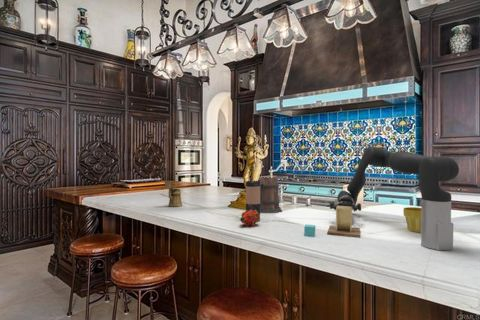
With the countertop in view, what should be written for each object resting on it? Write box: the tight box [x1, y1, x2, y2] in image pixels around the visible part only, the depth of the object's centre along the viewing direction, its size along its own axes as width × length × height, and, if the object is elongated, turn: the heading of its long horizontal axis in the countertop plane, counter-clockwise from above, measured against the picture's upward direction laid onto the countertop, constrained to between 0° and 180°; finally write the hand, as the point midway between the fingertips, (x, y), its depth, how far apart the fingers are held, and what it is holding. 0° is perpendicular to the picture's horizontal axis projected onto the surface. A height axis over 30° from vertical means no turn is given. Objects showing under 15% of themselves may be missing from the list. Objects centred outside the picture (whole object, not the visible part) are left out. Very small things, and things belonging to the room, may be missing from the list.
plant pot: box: [403, 206, 421, 233], centre depth 134 cm, size 10×10×10 cm
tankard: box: [259, 176, 283, 214], centre depth 179 cm, size 24×17×20 cm
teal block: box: [303, 224, 316, 238], centre depth 127 cm, size 4×4×4 cm
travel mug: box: [245, 180, 261, 220], centre depth 157 cm, size 8×8×20 cm
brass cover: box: [335, 206, 353, 232], centre depth 131 cm, size 6×6×10 cm
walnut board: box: [326, 225, 361, 238], centre depth 131 cm, size 13×13×1 cm
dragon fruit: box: [239, 209, 261, 227], centre depth 143 cm, size 8×8×12 cm
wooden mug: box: [163, 179, 183, 208], centre depth 195 cm, size 9×14×18 cm, turn 151°
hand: (344, 208), depth 141 cm, fingers open, 8 cm apart
